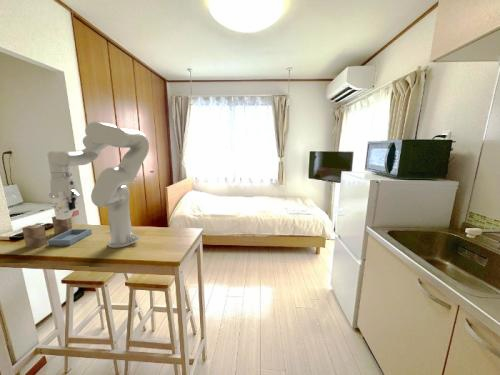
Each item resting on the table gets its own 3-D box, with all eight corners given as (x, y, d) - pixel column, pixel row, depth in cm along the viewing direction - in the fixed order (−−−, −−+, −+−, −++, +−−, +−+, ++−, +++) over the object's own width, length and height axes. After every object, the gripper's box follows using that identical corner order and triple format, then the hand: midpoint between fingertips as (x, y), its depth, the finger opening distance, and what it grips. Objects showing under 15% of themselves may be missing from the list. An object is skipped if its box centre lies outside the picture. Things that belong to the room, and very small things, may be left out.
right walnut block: (72, 231, 125) (70, 215, 123) (68, 233, 122) (65, 217, 120) (59, 231, 125) (56, 215, 123) (54, 233, 122) (51, 217, 120)
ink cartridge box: (72, 214, 117) (67, 188, 114) (79, 214, 116) (75, 188, 113) (55, 219, 108) (50, 191, 106) (63, 220, 108) (58, 192, 105)
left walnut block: (47, 243, 109) (44, 225, 107) (41, 246, 106) (38, 227, 104) (32, 243, 109) (28, 225, 107) (26, 246, 106) (22, 227, 104)
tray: (91, 233, 122) (91, 228, 121) (70, 245, 107) (69, 240, 107) (72, 233, 122) (72, 228, 121) (48, 245, 107) (47, 240, 107)
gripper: (83, 174, 112) (88, 207, 115) (51, 174, 112) (56, 207, 115) (71, 176, 104) (77, 211, 108) (37, 176, 104) (43, 211, 108)
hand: (66, 208), depth 111 cm, fingers closed on ink cartridge box, 5 cm apart
